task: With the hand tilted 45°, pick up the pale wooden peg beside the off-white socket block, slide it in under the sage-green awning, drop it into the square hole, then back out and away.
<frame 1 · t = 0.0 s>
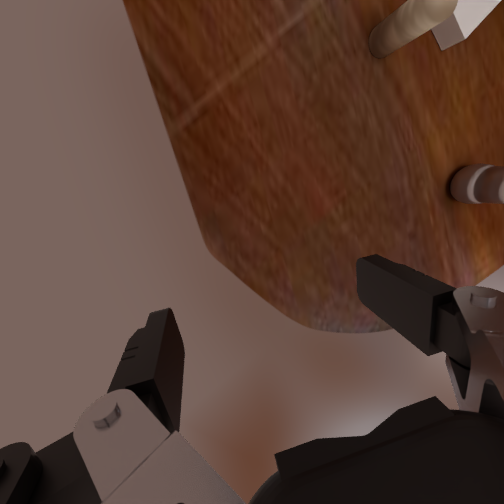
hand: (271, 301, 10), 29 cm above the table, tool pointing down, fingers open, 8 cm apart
peg: (381, 41, 35), on the table
plastic bottle: (458, 183, 45), on the table
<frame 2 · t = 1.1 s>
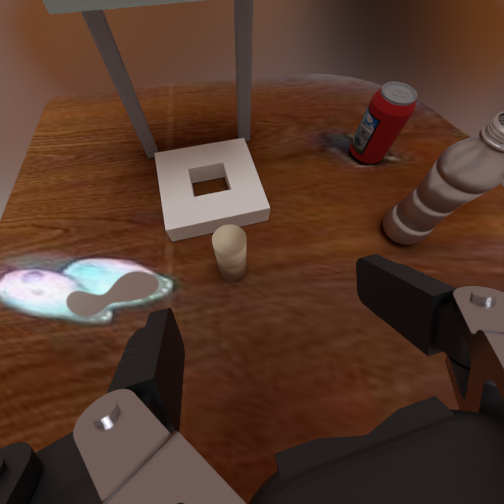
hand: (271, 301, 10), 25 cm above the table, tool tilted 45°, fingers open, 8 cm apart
socket: (211, 192, 44), on the table
beverage can: (364, 154, 49), on the table
awning: (211, 192, 44), on the table
peg: (232, 269, 37), on the table
plastic bottle: (396, 232, 41), on the table
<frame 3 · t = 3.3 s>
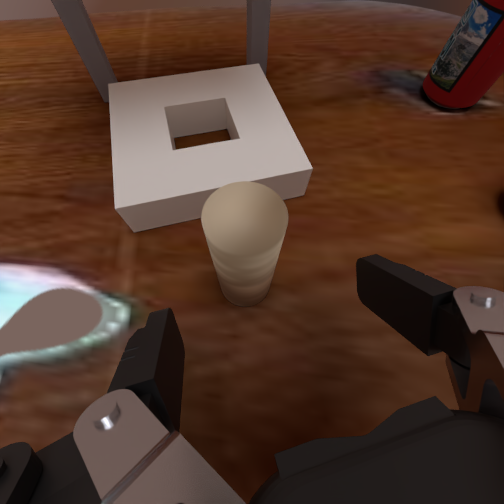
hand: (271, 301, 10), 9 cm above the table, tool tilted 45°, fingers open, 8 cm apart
socket: (206, 152, 26), on the table
beverage can: (444, 98, 31), on the table
awning: (206, 152, 26), on the table
peg: (245, 282, 20), on the table
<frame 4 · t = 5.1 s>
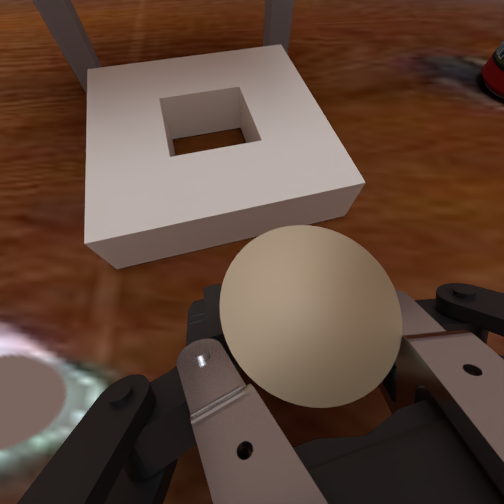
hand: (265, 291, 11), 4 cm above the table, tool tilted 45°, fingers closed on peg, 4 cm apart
socket: (214, 157, 20), on the table
awning: (214, 157, 20), on the table
peg: (271, 344, 14), on the table, touching gripper
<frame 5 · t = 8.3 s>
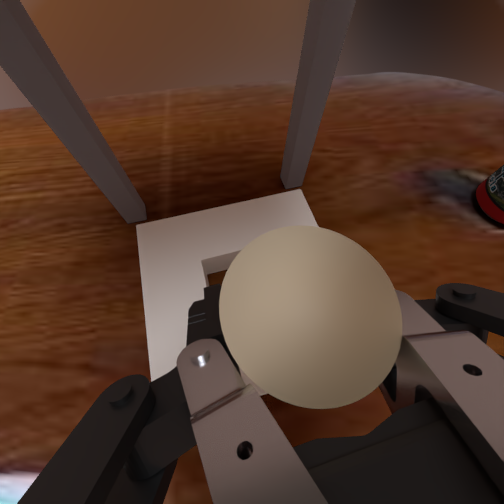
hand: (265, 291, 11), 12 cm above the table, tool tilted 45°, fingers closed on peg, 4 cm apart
socket: (244, 295, 23), on the table
beverage can: (499, 208, 29), on the table
awning: (244, 295, 23), on the table
peg: (271, 344, 14), point 8 cm above the table, touching gripper
when the fingers open (7 cm above the table, at t = 11.4 s): peg drops 2 cm, resting in socket.
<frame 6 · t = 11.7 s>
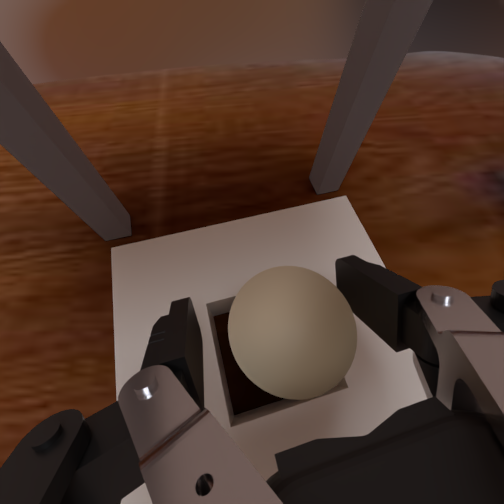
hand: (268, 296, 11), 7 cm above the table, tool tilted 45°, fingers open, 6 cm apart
socket: (267, 348, 16), on the table
awning: (267, 348, 16), on the table
peg: (268, 349, 16), resting in socket
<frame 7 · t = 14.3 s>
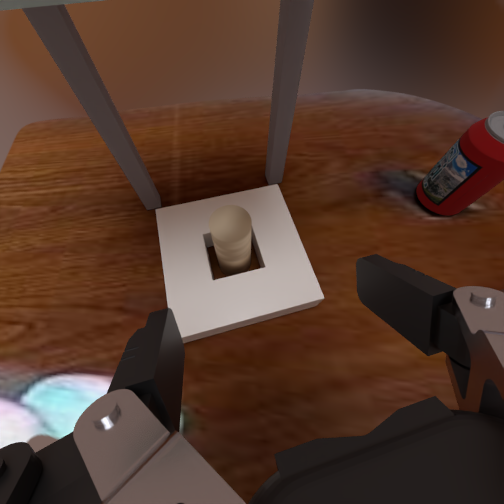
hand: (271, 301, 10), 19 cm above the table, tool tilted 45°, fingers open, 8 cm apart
socket: (234, 262, 32), on the table
beverage can: (435, 200, 37), on the table
awning: (234, 262, 32), on the table
peg: (234, 262, 32), resting in socket
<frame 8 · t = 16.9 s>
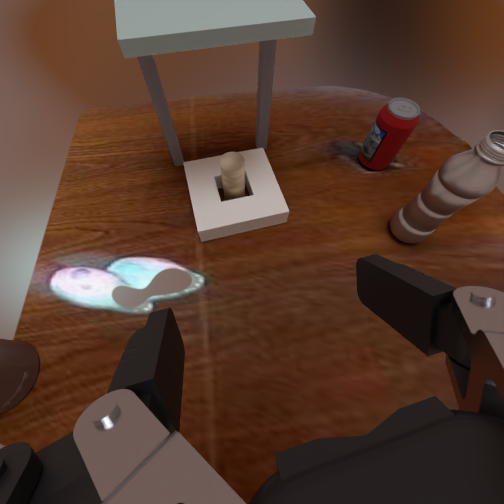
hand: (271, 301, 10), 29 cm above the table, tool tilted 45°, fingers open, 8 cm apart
socket: (234, 197, 48), on the table
beverage can: (372, 161, 53), on the table
awning: (234, 197, 48), on the table
peg: (234, 198, 48), resting in socket
plastic bottle: (402, 232, 46), on the table
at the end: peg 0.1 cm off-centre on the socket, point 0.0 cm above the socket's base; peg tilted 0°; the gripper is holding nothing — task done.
